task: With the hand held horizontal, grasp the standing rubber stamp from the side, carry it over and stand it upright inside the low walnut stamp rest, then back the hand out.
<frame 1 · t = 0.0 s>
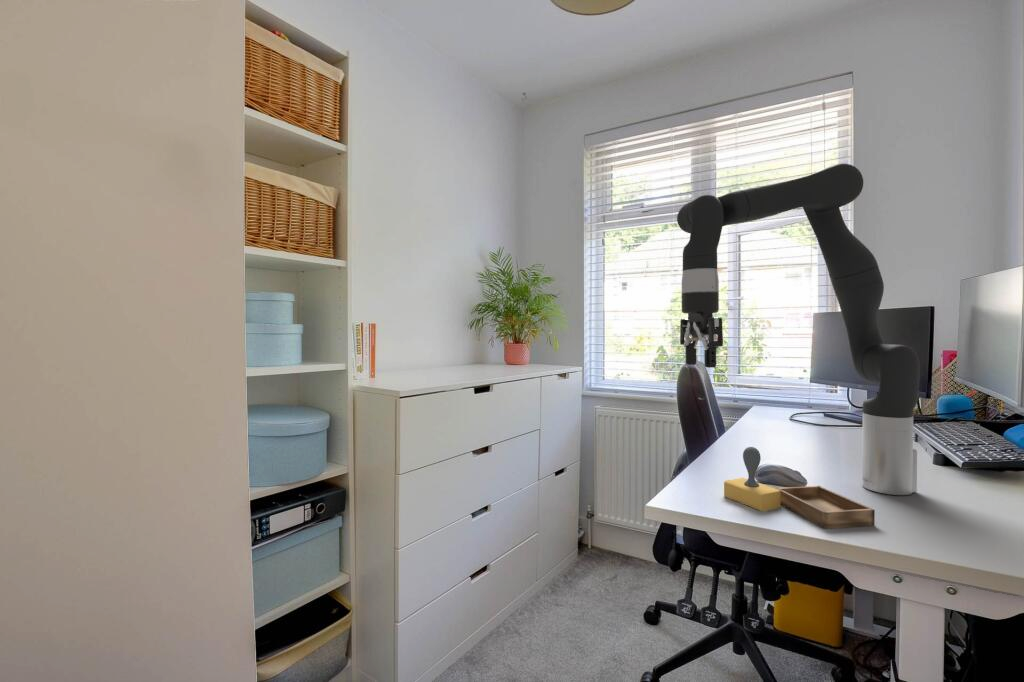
hand: (700, 365, 106), 29 cm above the table, tool pointing down, fingers open, 8 cm apart
rubber stamp: (751, 503, 105), on the table
stamp rest: (821, 512, 99), on the table
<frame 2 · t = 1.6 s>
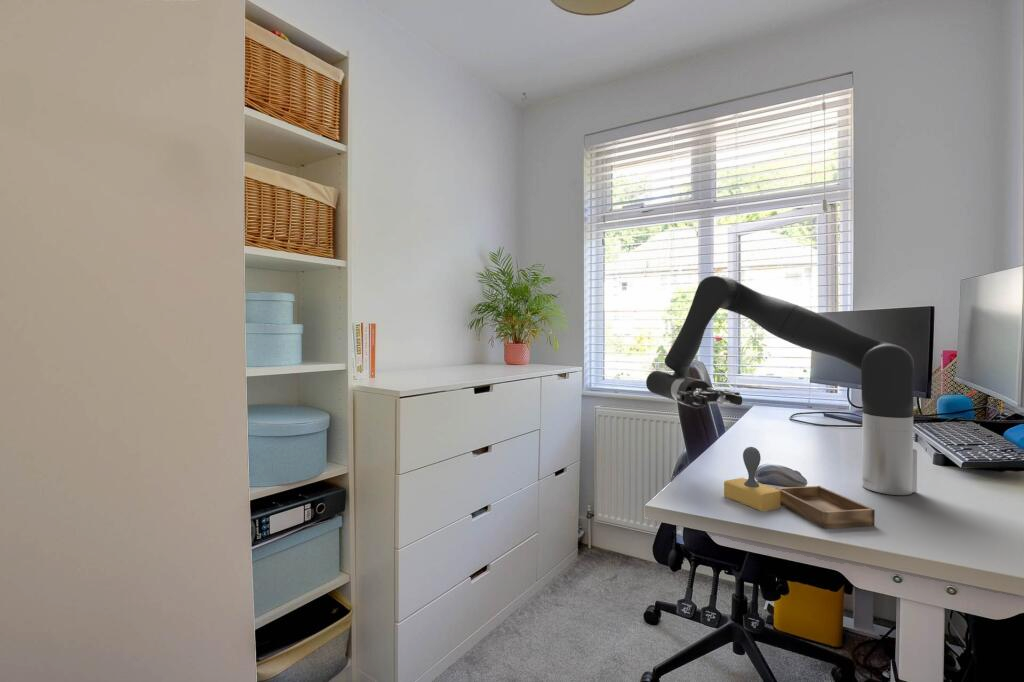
hand: (723, 401, 116), 20 cm above the table, tool horizontal, fingers open, 8 cm apart
nothing on the table moved.
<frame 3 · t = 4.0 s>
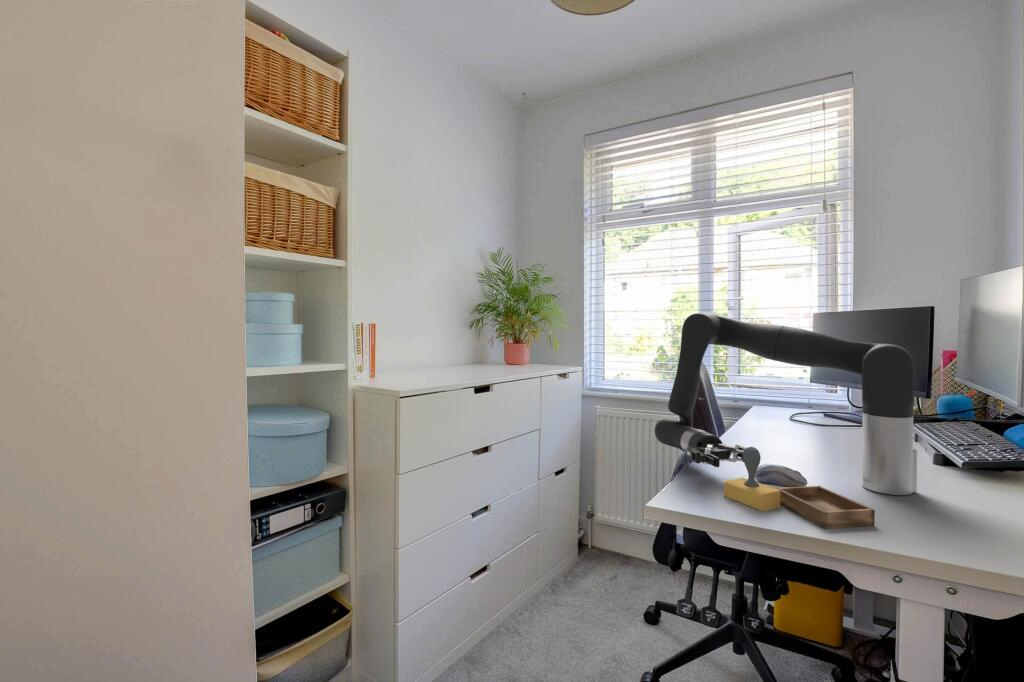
hand: (736, 462, 111), 7 cm above the table, tool horizontal, fingers open, 8 cm apart
nothing on the table moved.
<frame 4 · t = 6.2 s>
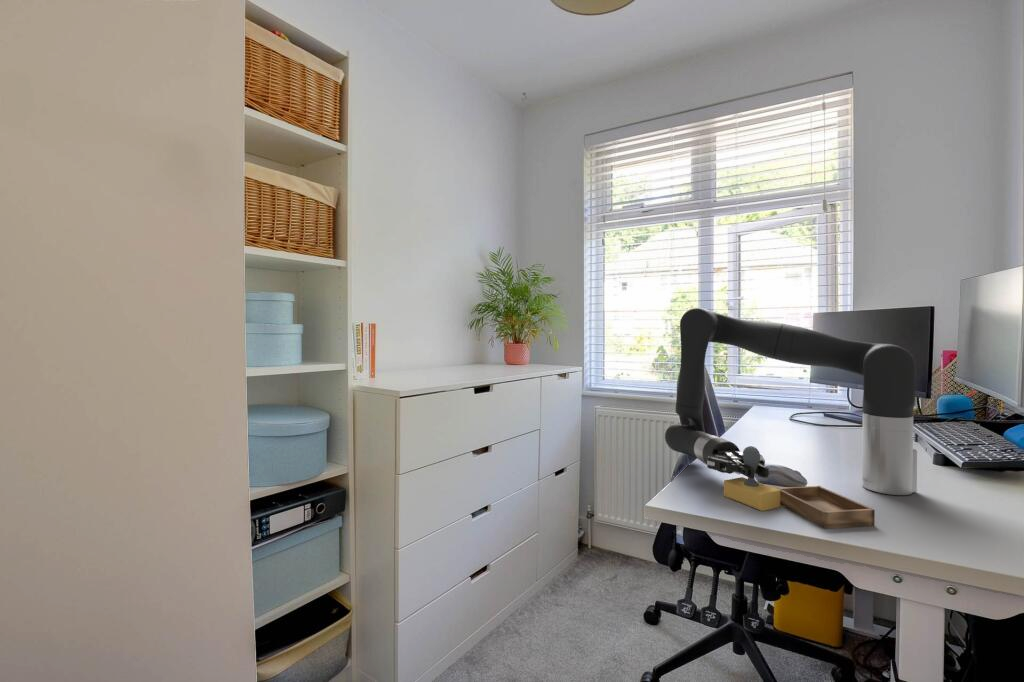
hand: (759, 473, 102), 7 cm above the table, tool horizontal, fingers closed on rubber stamp, 2 cm apart
rubber stamp: (750, 502, 105), on the table, touching gripper
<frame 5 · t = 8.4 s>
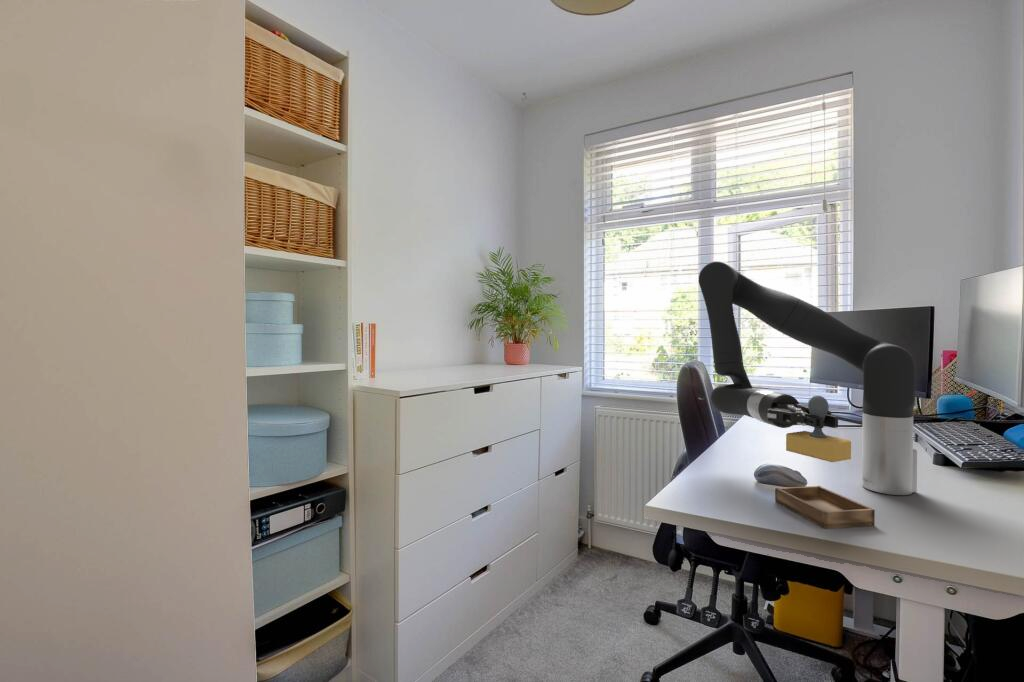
hand: (829, 422, 96), 19 cm above the table, tool horizontal, fingers closed on rubber stamp, 2 cm apart
rubber stamp: (817, 455, 99), point 11 cm above the table, touching gripper
when the fingers open (9 cm above the table, at t = 10.6 s): rubber stamp drops 1 cm, resting on stamp rest.
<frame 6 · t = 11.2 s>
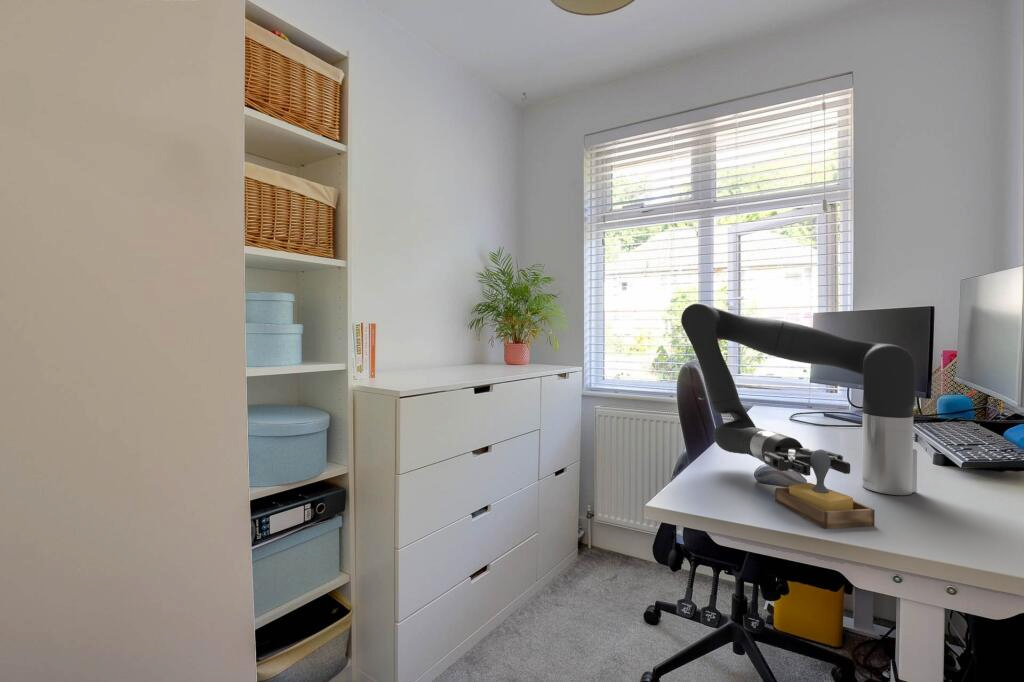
hand: (828, 469, 97), 9 cm above the table, tool horizontal, fingers open, 8 cm apart
rubber stamp: (819, 510, 99), point 1 cm above the table, touching stamp rest
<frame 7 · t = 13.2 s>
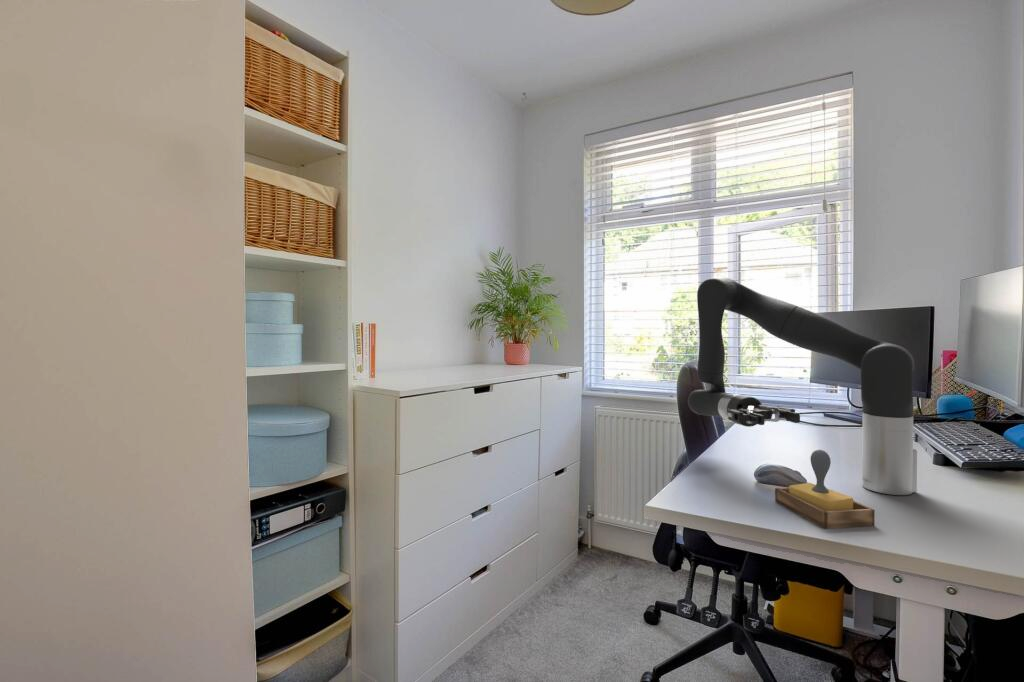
hand: (780, 419, 110), 17 cm above the table, tool horizontal, fingers open, 8 cm apart
nothing on the table moved.
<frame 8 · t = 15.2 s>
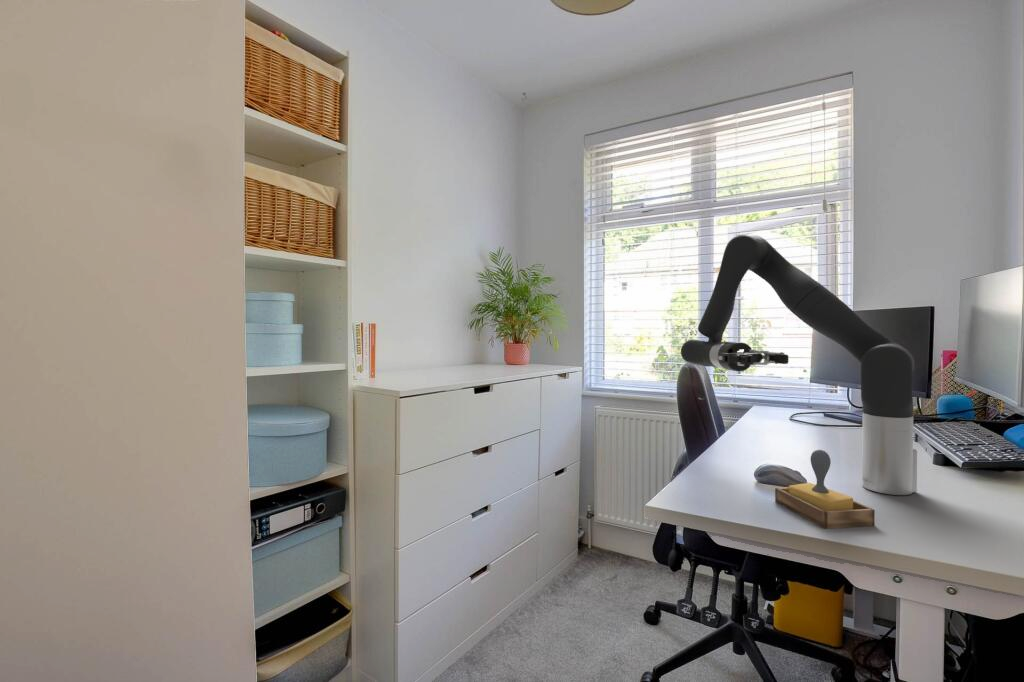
hand: (769, 359, 113), 30 cm above the table, tool horizontal, fingers open, 8 cm apart
nothing on the table moved.
at the end: rubber stamp inside the target area on the stamp rest (0.4 cm from its centre), point 0.6 cm above the stamp rest's base; rubber stamp tilted 0°; the gripper is holding nothing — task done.
